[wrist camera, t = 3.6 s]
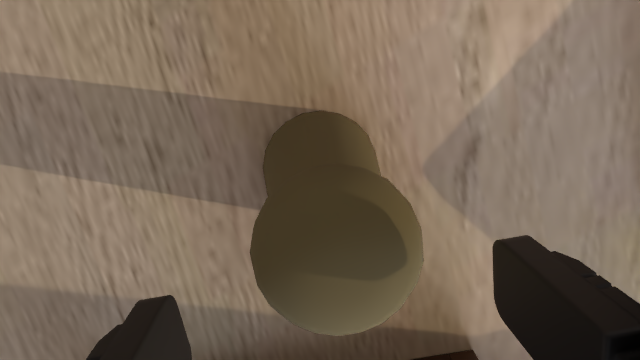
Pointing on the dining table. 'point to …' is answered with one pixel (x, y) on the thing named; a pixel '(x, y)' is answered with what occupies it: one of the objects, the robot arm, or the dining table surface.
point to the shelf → (454, 356)
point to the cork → (332, 229)
